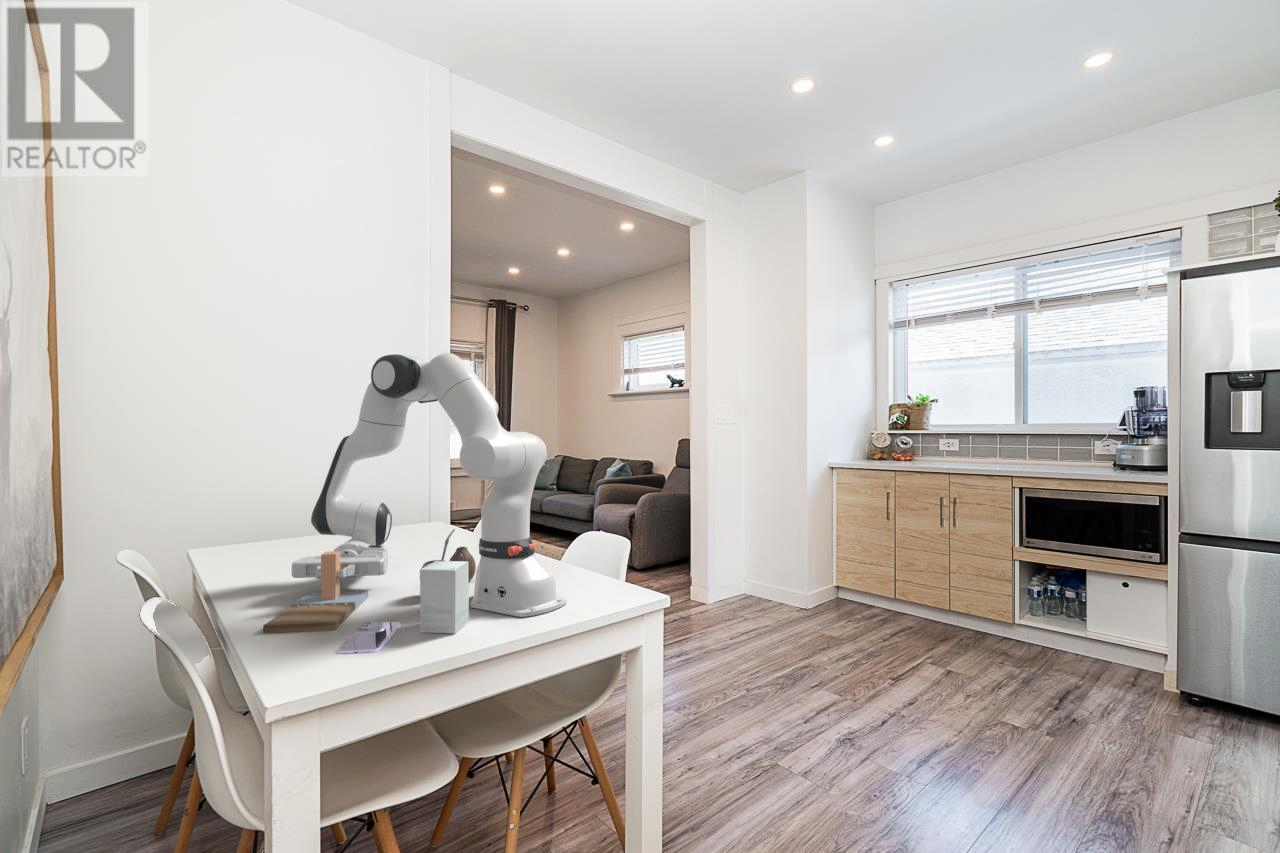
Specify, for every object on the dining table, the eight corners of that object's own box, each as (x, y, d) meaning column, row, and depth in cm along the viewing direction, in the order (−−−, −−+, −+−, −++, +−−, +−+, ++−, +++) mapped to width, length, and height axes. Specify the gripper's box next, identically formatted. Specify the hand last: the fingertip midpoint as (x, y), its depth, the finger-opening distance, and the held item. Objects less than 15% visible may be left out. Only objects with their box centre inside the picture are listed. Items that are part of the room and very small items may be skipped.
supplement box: (469, 621, 121) (470, 560, 121) (455, 634, 113) (455, 569, 113) (435, 620, 121) (435, 559, 121) (418, 633, 114) (418, 568, 114)
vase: (481, 580, 152) (481, 546, 152) (460, 586, 146) (460, 551, 146) (463, 576, 155) (463, 543, 155) (441, 582, 150) (442, 548, 150)
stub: (355, 609, 127) (355, 556, 127) (290, 611, 125) (291, 558, 125) (367, 596, 136) (368, 547, 136) (308, 598, 134) (308, 549, 134)
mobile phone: (334, 650, 103) (363, 621, 118) (334, 656, 104) (363, 626, 118) (378, 648, 104) (402, 620, 119) (378, 654, 104) (402, 625, 119)
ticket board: (334, 629, 115) (334, 621, 115) (263, 633, 113) (263, 624, 113) (354, 610, 127) (354, 602, 127) (290, 612, 125) (290, 605, 125)
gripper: (305, 548, 142) (278, 562, 128) (393, 546, 145) (377, 559, 131) (304, 574, 142) (278, 590, 128) (393, 571, 145) (377, 587, 131)
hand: (329, 574), depth 130 cm, fingers closed on stub, 3 cm apart
